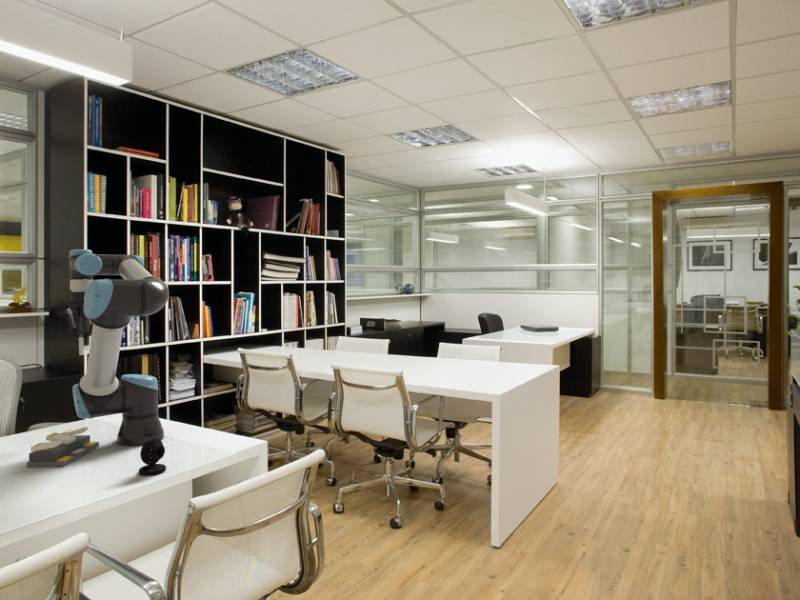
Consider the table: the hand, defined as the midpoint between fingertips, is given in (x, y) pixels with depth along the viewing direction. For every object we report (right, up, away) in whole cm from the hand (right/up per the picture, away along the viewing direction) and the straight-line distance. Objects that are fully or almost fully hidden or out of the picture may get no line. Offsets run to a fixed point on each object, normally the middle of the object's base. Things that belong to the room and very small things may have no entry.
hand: (83, 354), depth 206 cm
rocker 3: (+8, -24, -19) cm, 32 cm away
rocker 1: (+8, -25, -35) cm, 43 cm away
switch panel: (+9, -30, -27) cm, 41 cm away
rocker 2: (+8, -25, -27) cm, 37 cm away
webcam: (+44, -31, -42) cm, 68 cm away
